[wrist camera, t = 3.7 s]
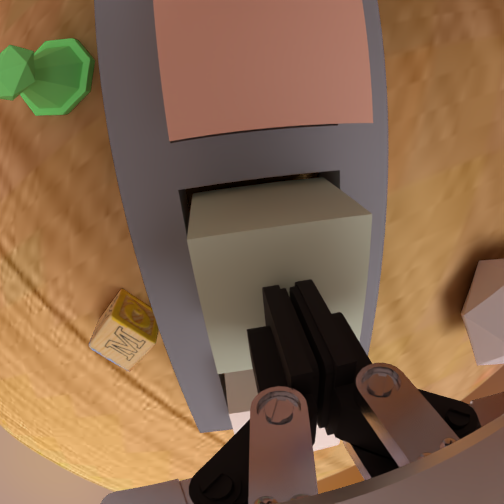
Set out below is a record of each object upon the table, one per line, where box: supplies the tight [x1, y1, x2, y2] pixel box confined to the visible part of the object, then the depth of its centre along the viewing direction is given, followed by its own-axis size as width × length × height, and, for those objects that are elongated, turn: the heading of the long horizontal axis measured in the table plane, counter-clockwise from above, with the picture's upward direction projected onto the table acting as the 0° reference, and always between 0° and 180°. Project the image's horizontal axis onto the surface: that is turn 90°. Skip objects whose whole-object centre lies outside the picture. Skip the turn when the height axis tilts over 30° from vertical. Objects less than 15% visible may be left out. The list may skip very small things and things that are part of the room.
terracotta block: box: [153, 0, 373, 141], centre depth 9 cm, size 6×6×5 cm
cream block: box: [224, 369, 340, 451], centre depth 18 cm, size 6×6×5 cm
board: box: [94, 0, 388, 433], centre depth 16 cm, size 28×12×3 cm, turn 6°
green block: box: [187, 177, 372, 374], centre depth 13 cm, size 6×6×5 cm
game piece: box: [0, 38, 95, 116], centre depth 10 cm, size 4×4×6 cm
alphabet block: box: [89, 289, 158, 371], centre depth 18 cm, size 3×3×3 cm
